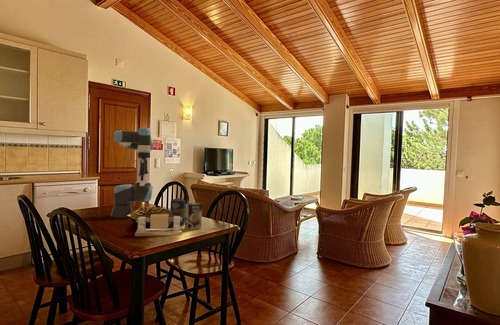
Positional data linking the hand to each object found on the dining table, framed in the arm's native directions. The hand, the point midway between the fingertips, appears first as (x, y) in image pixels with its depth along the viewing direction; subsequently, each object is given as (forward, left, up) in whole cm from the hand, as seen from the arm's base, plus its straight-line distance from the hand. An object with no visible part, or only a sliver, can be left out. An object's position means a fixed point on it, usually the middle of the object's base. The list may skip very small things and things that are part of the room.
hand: (143, 184), depth 192 cm
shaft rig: (+20, +12, -27) cm, 35 cm away
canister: (0, +22, -27) cm, 35 cm away
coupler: (+20, +12, -23) cm, 33 cm away
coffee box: (+11, +32, -27) cm, 43 cm away
